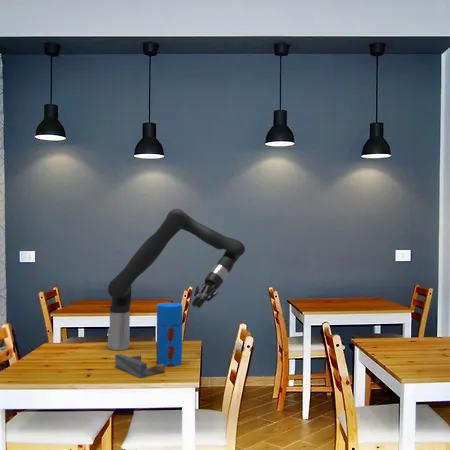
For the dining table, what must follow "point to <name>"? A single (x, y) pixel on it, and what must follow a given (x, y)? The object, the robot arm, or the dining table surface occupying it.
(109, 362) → the dining table surface
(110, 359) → the dining table surface
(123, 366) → the bay
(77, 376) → the dining table surface
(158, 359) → the thermos
